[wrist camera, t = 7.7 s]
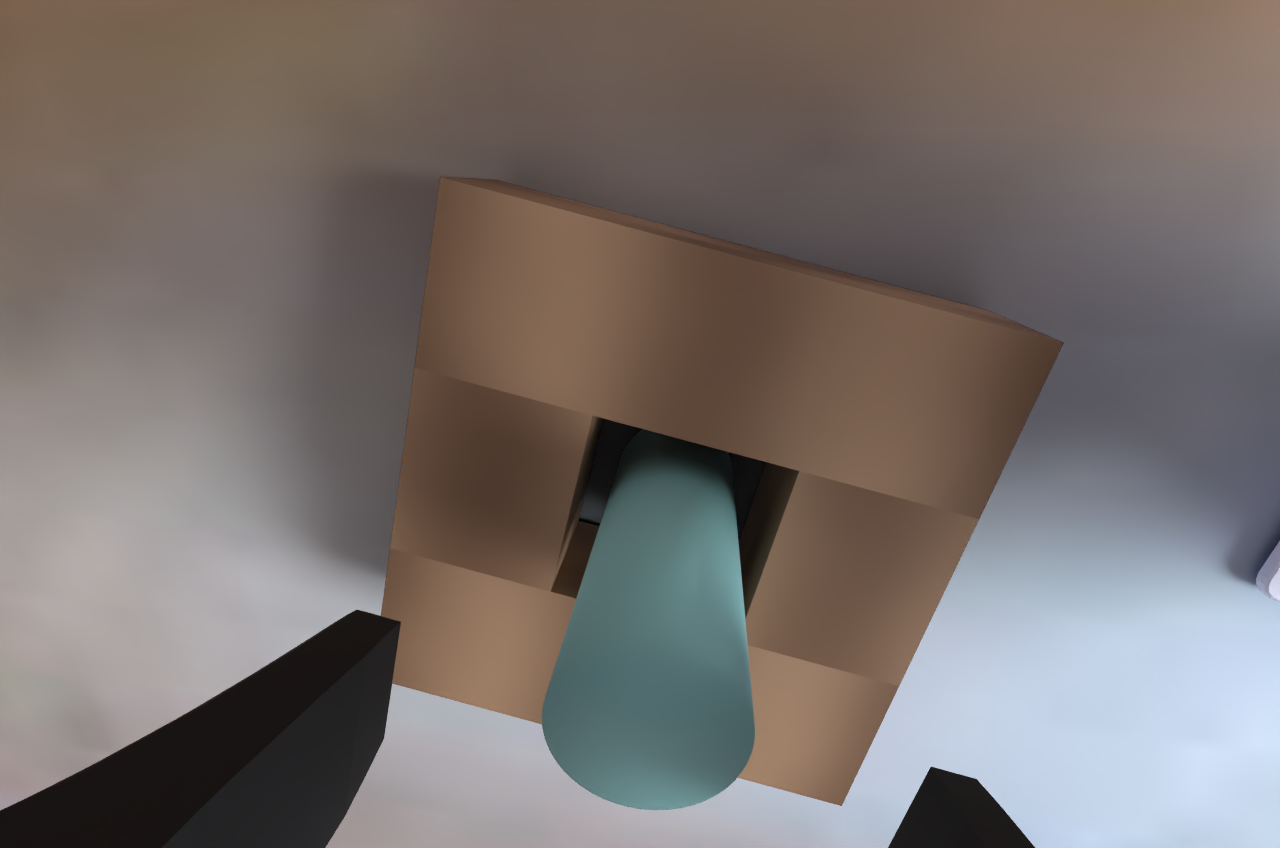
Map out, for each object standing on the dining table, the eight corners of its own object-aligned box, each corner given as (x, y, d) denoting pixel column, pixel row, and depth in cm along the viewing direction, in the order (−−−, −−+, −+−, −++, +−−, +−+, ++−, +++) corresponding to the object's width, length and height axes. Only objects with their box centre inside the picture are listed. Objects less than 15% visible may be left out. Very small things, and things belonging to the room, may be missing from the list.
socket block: (989, 310, 16) (1063, 342, 12) (819, 703, 20) (841, 806, 17) (495, 179, 16) (440, 177, 13) (427, 597, 20) (372, 677, 17)
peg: (755, 461, 18) (800, 714, 9) (689, 543, 19) (674, 840, 10) (660, 398, 17) (614, 600, 9) (598, 485, 18) (504, 742, 10)
